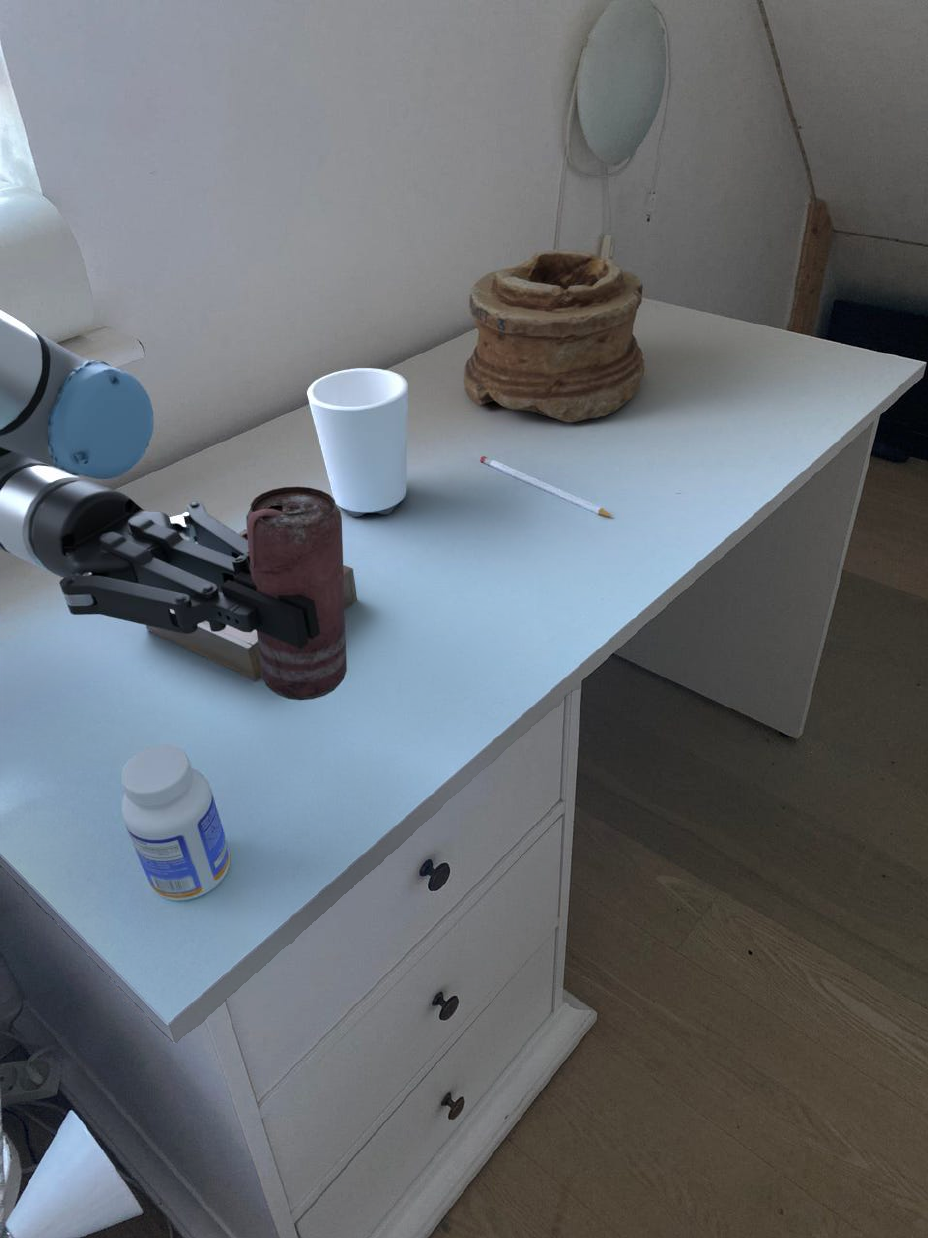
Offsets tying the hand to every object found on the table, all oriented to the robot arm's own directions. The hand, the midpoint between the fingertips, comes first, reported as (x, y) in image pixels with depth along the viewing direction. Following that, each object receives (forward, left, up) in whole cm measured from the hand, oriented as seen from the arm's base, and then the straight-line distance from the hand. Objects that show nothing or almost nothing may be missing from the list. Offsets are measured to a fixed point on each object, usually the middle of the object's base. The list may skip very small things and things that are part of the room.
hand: (307, 624), depth 61 cm
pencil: (+28, +33, -14) cm, 46 cm away
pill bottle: (-11, -6, -14) cm, 18 cm away
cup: (+10, +37, -14) cm, 41 cm away
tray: (-4, +21, -14) cm, 25 cm away
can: (-1, +4, -8) cm, 9 cm away
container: (+38, +57, -14) cm, 70 cm away
